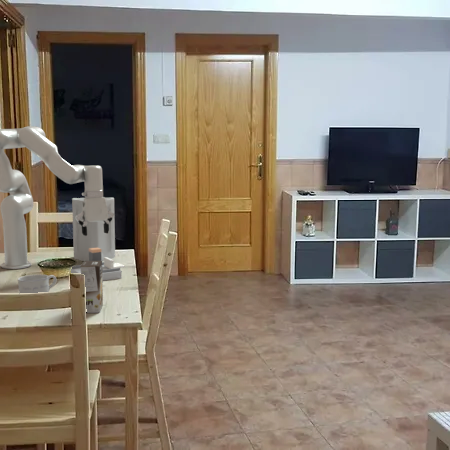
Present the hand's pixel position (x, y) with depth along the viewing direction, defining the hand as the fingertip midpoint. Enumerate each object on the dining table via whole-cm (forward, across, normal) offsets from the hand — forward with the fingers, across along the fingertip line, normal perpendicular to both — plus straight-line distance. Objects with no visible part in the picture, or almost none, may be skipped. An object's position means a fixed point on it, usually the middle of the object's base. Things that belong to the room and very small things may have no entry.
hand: (95, 234), depth 271 cm
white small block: (+13, +3, -12) cm, 17 cm away
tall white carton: (+16, +7, +20) cm, 27 cm away
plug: (+16, -1, 0) cm, 16 cm away
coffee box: (+16, -25, -54) cm, 62 cm away
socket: (+16, -6, -12) cm, 20 cm away
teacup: (+16, -36, -30) cm, 49 cm away
